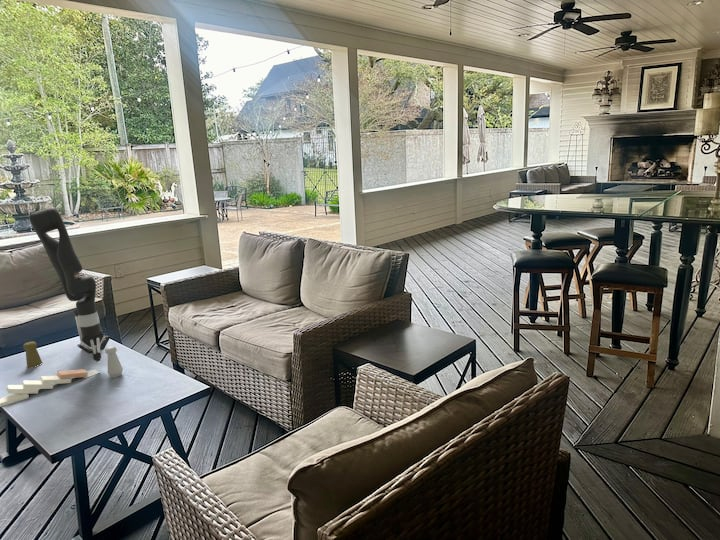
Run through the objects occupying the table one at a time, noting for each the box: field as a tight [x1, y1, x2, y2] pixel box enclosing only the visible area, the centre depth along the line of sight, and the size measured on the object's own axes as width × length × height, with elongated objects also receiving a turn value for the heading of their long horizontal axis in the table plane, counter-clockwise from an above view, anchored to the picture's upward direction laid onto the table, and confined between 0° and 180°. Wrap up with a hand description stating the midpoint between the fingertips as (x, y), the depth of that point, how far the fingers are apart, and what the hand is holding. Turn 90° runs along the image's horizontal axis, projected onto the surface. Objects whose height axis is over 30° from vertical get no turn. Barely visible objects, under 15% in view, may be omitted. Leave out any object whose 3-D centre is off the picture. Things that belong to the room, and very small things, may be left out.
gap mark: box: [82, 368, 100, 379], centre depth 212 cm, size 6×6×1 cm
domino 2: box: [0, 393, 30, 408], centre depth 193 cm, size 2×5×10 cm
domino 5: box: [56, 368, 88, 379], centre depth 207 cm, size 2×5×10 cm
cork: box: [22, 341, 43, 369], centre depth 225 cm, size 6×6×11 cm
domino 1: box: [6, 384, 39, 395], centre depth 196 cm, size 2×5×10 cm
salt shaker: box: [104, 345, 124, 379], centre depth 207 cm, size 6×6×13 cm
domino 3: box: [21, 379, 55, 390], centre depth 199 cm, size 2×5×10 cm
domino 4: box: [39, 375, 72, 385], centre depth 203 cm, size 2×5×10 cm
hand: (97, 360), depth 214 cm, fingers closed
